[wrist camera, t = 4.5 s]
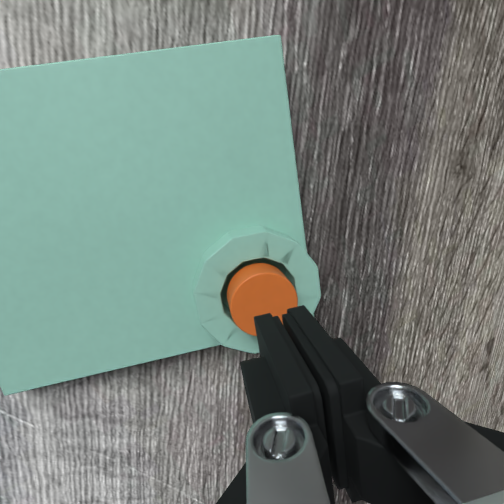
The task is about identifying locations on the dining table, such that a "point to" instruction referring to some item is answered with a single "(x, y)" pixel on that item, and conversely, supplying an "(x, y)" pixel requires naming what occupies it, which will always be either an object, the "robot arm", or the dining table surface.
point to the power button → (259, 295)
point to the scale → (141, 205)
